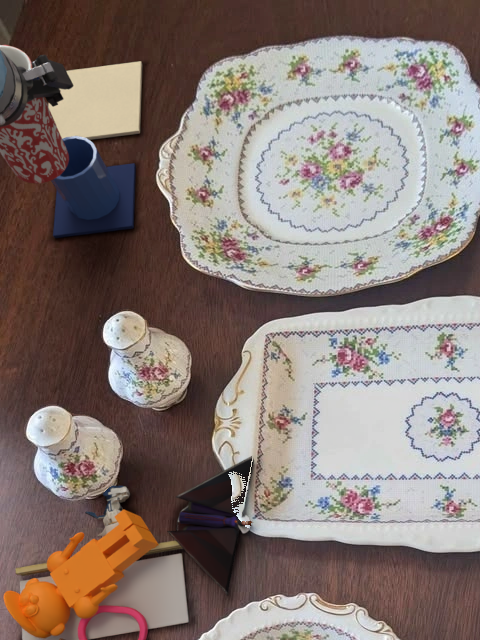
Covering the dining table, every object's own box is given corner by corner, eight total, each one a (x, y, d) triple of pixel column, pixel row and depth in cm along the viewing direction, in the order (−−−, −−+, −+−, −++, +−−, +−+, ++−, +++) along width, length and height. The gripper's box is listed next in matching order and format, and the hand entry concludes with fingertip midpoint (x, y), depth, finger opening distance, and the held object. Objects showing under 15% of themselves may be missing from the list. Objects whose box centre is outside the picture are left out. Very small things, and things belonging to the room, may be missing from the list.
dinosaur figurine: (151, 548, 97) (137, 484, 102) (126, 536, 94) (114, 471, 99) (116, 568, 98) (105, 504, 103) (91, 558, 95) (80, 492, 100)
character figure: (186, 448, 101) (266, 455, 100) (191, 457, 103) (269, 464, 103) (154, 584, 94) (239, 592, 93) (161, 590, 96) (244, 598, 96)
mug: (76, 185, 100) (28, 95, 88) (4, 194, 100) (-54, 104, 88) (79, 114, 105) (35, 19, 93) (11, 122, 105) (-43, 28, 93)
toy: (176, 563, 95) (145, 552, 88) (57, 655, 95) (15, 652, 87) (137, 504, 98) (104, 488, 91) (22, 593, 98) (-22, 585, 90)
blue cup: (69, 225, 119) (40, 182, 110) (72, 184, 122) (44, 139, 113) (120, 218, 118) (95, 175, 110) (122, 178, 121) (97, 132, 113)
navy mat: (54, 238, 118) (52, 235, 117) (59, 175, 122) (57, 172, 122) (133, 228, 118) (132, 225, 117) (135, 165, 122) (134, 163, 122)
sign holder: (22, 570, 98) (25, 651, 96) (15, 568, 97) (18, 650, 94) (185, 542, 98) (193, 622, 96) (180, 539, 97) (189, 621, 94)
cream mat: (46, 145, 125) (44, 142, 124) (53, 75, 130) (51, 72, 130) (140, 133, 124) (138, 130, 124) (142, 64, 130) (141, 61, 129)
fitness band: (78, 652, 94) (73, 653, 93) (85, 603, 95) (79, 603, 94) (145, 657, 94) (141, 658, 93) (151, 608, 95) (147, 608, 94)
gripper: (-96, 163, 79) (-45, 172, 100) (99, 80, 82) (109, 106, 102) (-144, 86, 76) (-82, 111, 97) (59, 2, 79) (78, 44, 99)
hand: (16, 108), depth 100 cm, fingers closed on mug, 8 cm apart
